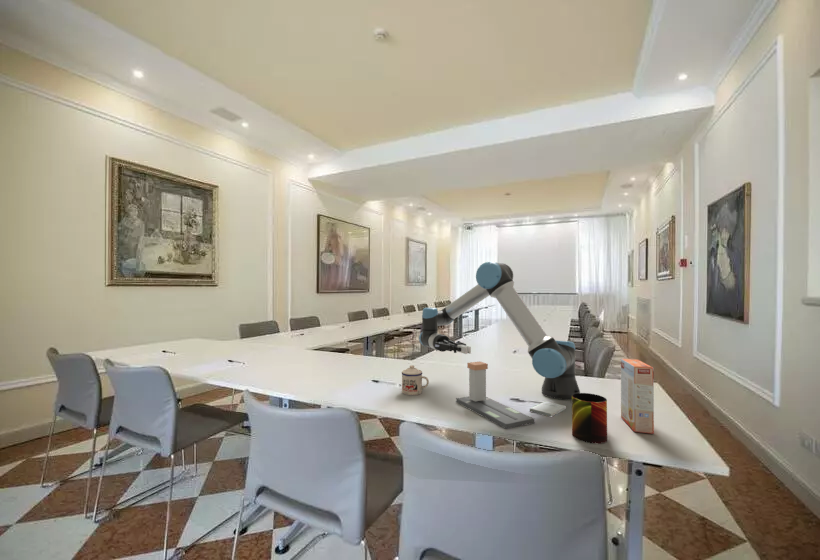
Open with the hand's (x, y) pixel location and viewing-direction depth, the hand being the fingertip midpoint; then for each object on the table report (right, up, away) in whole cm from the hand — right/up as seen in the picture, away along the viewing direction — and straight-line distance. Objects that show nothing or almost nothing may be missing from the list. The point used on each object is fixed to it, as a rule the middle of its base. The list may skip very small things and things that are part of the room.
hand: (468, 350), depth 146 cm
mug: (+32, -20, -35) cm, 51 cm away
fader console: (+6, -20, -14) cm, 25 cm away
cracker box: (+51, -20, -28) cm, 62 cm away
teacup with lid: (-22, -20, +9) cm, 31 cm away
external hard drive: (+28, -20, -13) cm, 37 cm away
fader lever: (+3, -18, -6) cm, 19 cm away
